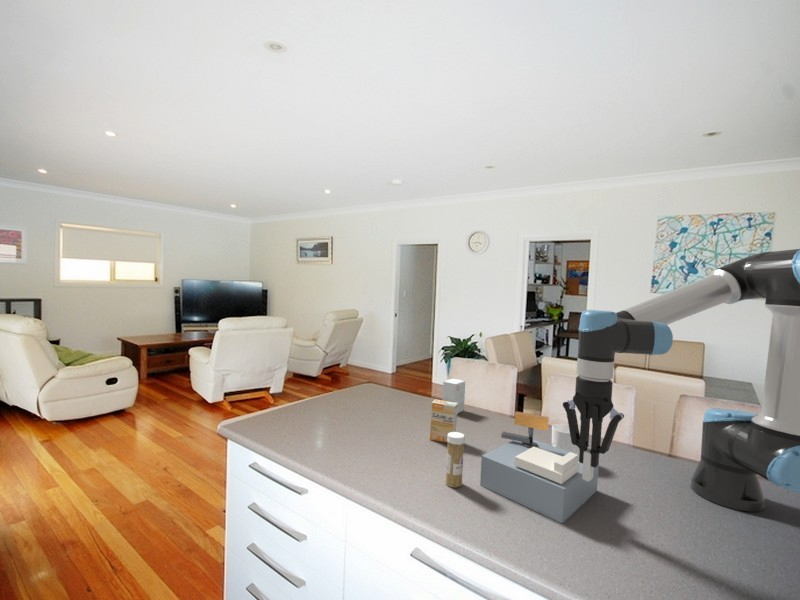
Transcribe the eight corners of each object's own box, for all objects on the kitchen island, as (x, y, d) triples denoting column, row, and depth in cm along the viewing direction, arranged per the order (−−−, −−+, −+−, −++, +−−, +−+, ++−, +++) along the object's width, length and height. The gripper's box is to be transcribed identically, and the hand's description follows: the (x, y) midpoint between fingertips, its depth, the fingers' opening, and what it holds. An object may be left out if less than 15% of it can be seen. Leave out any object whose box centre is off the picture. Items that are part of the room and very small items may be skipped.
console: (596, 490, 104) (598, 459, 104) (562, 523, 88) (564, 487, 88) (521, 461, 120) (522, 434, 119) (480, 485, 104) (481, 454, 104)
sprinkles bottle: (460, 489, 101) (463, 438, 101) (443, 486, 103) (446, 436, 102) (463, 481, 106) (465, 432, 105) (446, 478, 107) (449, 430, 107)
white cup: (580, 467, 118) (582, 434, 117) (552, 463, 119) (554, 431, 119) (573, 456, 125) (575, 425, 125) (548, 453, 127) (549, 422, 126)
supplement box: (429, 440, 133) (431, 402, 133) (433, 435, 138) (435, 398, 137) (452, 444, 130) (454, 406, 130) (456, 439, 135) (458, 402, 134)
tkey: (546, 447, 109) (547, 419, 109) (501, 438, 115) (502, 411, 114) (547, 444, 111) (548, 417, 111) (502, 435, 117) (504, 409, 116)
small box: (451, 407, 170) (453, 378, 170) (464, 410, 166) (465, 380, 166) (441, 411, 164) (443, 381, 163) (454, 415, 160) (456, 384, 159)
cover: (578, 471, 97) (579, 454, 96) (561, 484, 90) (562, 466, 89) (533, 454, 105) (534, 439, 105) (514, 465, 98) (515, 448, 98)
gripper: (630, 381, 87) (623, 484, 88) (571, 370, 97) (566, 463, 97) (620, 386, 82) (612, 495, 83) (559, 374, 91) (552, 472, 92)
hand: (587, 478), depth 90 cm, fingers closed
